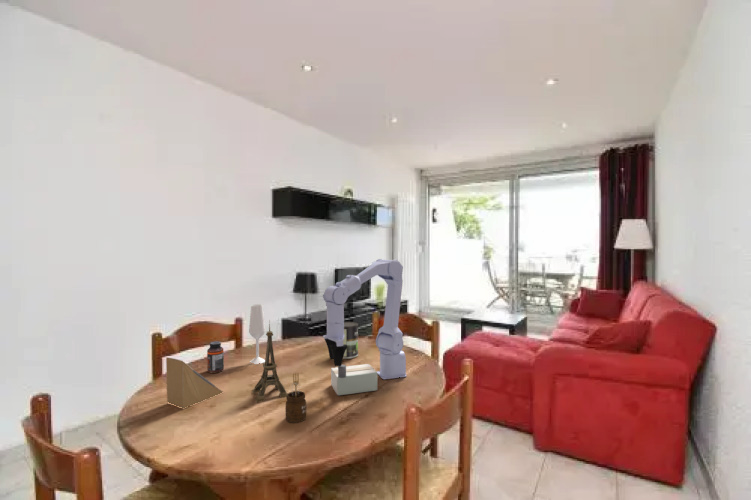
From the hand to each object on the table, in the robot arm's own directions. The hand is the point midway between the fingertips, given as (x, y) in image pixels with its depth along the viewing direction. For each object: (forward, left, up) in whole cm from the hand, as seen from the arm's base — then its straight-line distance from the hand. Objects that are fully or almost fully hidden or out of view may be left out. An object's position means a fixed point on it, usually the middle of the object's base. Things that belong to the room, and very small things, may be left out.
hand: (335, 362), depth 129 cm
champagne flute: (+24, -43, -10) cm, 51 cm away
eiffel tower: (+21, -6, -11) cm, 24 cm away
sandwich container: (+44, -11, -11) cm, 46 cm away
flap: (-7, +3, -10) cm, 12 cm away
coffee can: (-14, -39, -10) cm, 43 cm away
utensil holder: (+15, +15, -10) cm, 23 cm away
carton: (-7, -2, -10) cm, 13 cm away
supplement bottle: (+40, -36, -10) cm, 55 cm away
